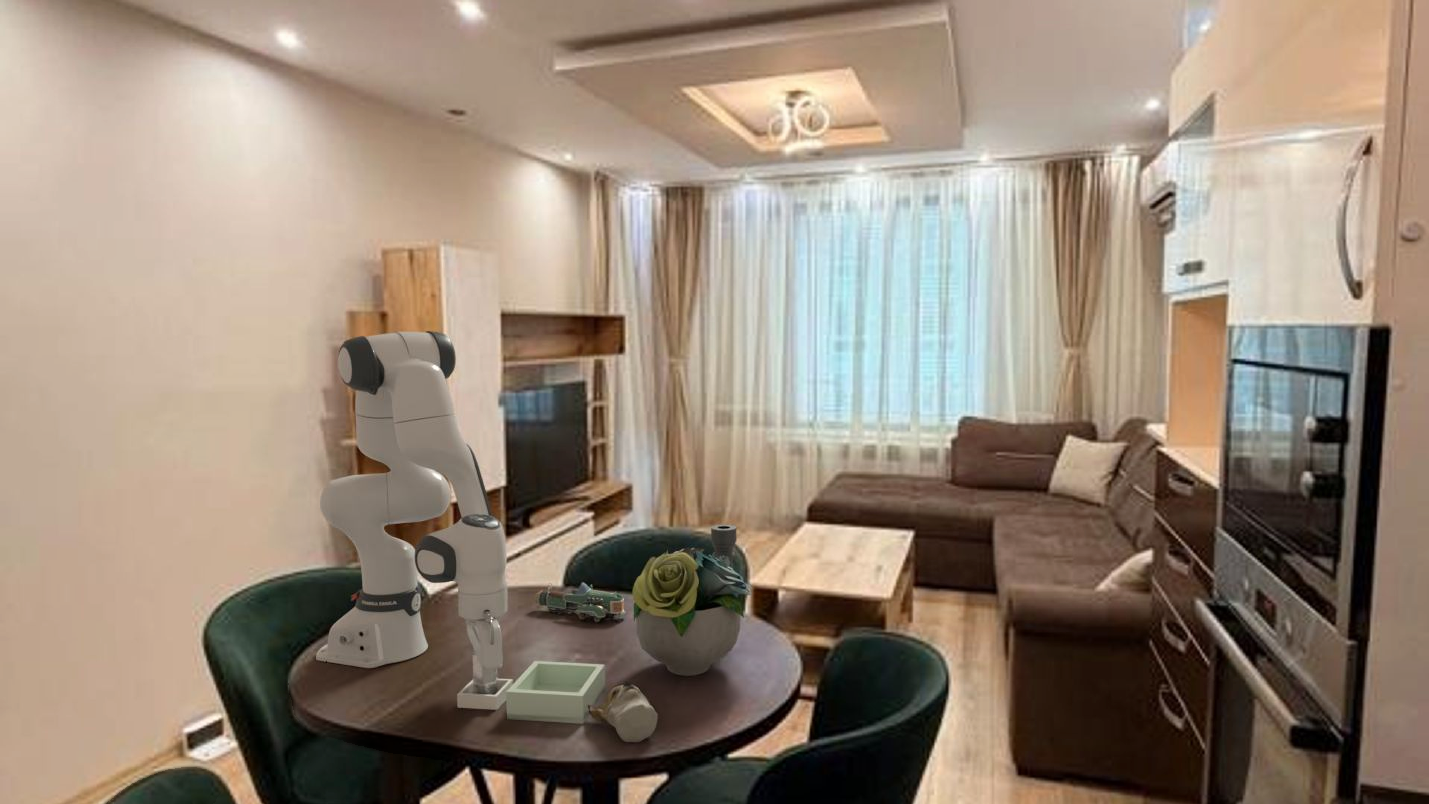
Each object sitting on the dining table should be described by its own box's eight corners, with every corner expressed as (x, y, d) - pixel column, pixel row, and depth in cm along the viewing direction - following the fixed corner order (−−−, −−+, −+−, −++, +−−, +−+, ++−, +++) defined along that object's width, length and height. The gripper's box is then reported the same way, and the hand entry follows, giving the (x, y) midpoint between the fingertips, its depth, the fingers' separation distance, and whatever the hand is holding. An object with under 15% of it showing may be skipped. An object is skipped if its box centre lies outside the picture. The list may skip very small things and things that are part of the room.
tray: (506, 718, 145) (506, 691, 144) (535, 686, 159) (534, 660, 158) (583, 723, 143) (582, 696, 142) (605, 689, 157) (604, 664, 156)
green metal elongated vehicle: (615, 627, 191) (614, 592, 191) (524, 615, 200) (523, 582, 199) (633, 614, 200) (633, 581, 200) (545, 603, 209) (544, 572, 208)
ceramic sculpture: (611, 702, 131) (583, 673, 145) (612, 755, 132) (584, 722, 145) (672, 689, 136) (639, 663, 150) (673, 741, 136) (640, 710, 150)
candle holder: (717, 643, 180) (716, 531, 179) (706, 634, 186) (705, 525, 184) (742, 638, 183) (742, 529, 181) (731, 630, 189) (730, 523, 187)
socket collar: (457, 707, 149) (457, 694, 149) (475, 690, 157) (475, 677, 157) (497, 709, 148) (496, 696, 148) (513, 692, 156) (512, 679, 156)
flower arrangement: (664, 639, 183) (663, 531, 181) (767, 657, 172) (767, 543, 170) (602, 680, 161) (600, 558, 159) (716, 704, 150) (715, 574, 148)
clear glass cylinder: (469, 704, 151) (468, 656, 150) (479, 694, 155) (478, 647, 154) (492, 705, 150) (491, 657, 149) (501, 695, 154) (500, 649, 154)
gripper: (510, 617, 143) (512, 694, 144) (492, 586, 162) (493, 654, 163) (473, 623, 140) (475, 701, 142) (458, 590, 159) (460, 659, 160)
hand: (485, 675), depth 152 cm, fingers closed on clear glass cylinder, 4 cm apart
